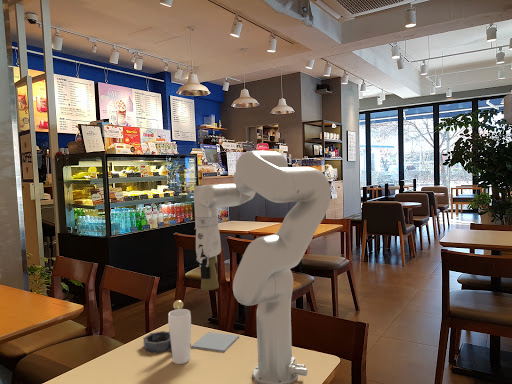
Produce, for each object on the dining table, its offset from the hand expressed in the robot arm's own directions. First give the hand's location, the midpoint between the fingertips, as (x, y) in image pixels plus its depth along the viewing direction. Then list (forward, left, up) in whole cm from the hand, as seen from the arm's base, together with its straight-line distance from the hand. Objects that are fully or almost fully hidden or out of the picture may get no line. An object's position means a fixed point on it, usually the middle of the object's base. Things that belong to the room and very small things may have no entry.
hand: (209, 276), depth 131 cm
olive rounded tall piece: (0, 0, -4) cm, 4 cm away
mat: (-1, -1, -23) cm, 23 cm away
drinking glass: (+3, +14, -23) cm, 27 cm away
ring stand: (+13, +7, -23) cm, 27 cm away
